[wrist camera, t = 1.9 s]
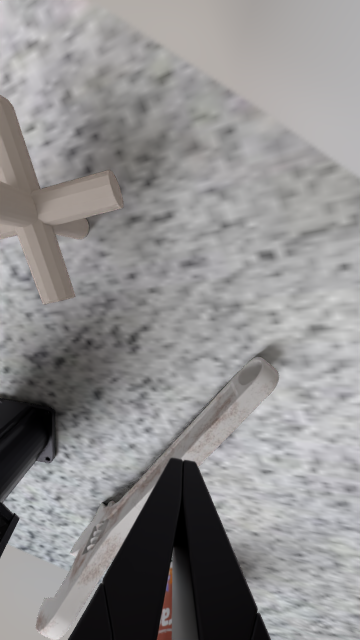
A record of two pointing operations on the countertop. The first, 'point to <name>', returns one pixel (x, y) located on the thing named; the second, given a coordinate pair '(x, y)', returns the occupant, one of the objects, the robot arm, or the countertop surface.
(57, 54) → the countertop surface
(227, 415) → the wrench
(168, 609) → the pill bottle
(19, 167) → the pipe connector
